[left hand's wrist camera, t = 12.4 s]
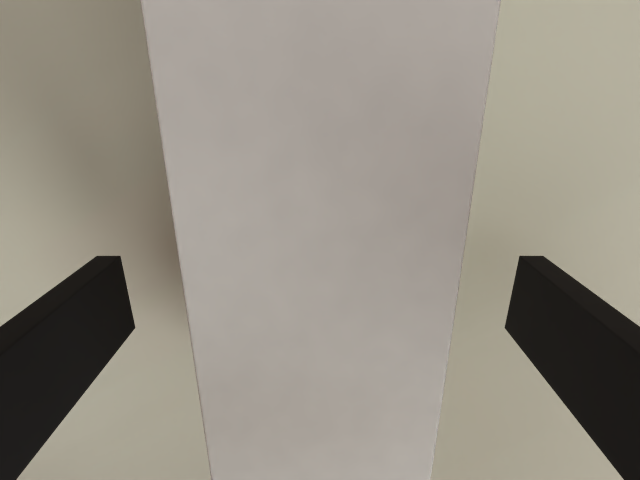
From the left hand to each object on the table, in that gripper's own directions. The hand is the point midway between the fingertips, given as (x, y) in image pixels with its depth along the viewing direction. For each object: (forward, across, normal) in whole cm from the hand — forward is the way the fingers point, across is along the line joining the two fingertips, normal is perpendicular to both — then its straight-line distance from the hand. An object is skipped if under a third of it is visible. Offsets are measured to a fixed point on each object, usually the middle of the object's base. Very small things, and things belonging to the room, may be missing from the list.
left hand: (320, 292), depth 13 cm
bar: (+4, 0, -18) cm, 19 cm away
